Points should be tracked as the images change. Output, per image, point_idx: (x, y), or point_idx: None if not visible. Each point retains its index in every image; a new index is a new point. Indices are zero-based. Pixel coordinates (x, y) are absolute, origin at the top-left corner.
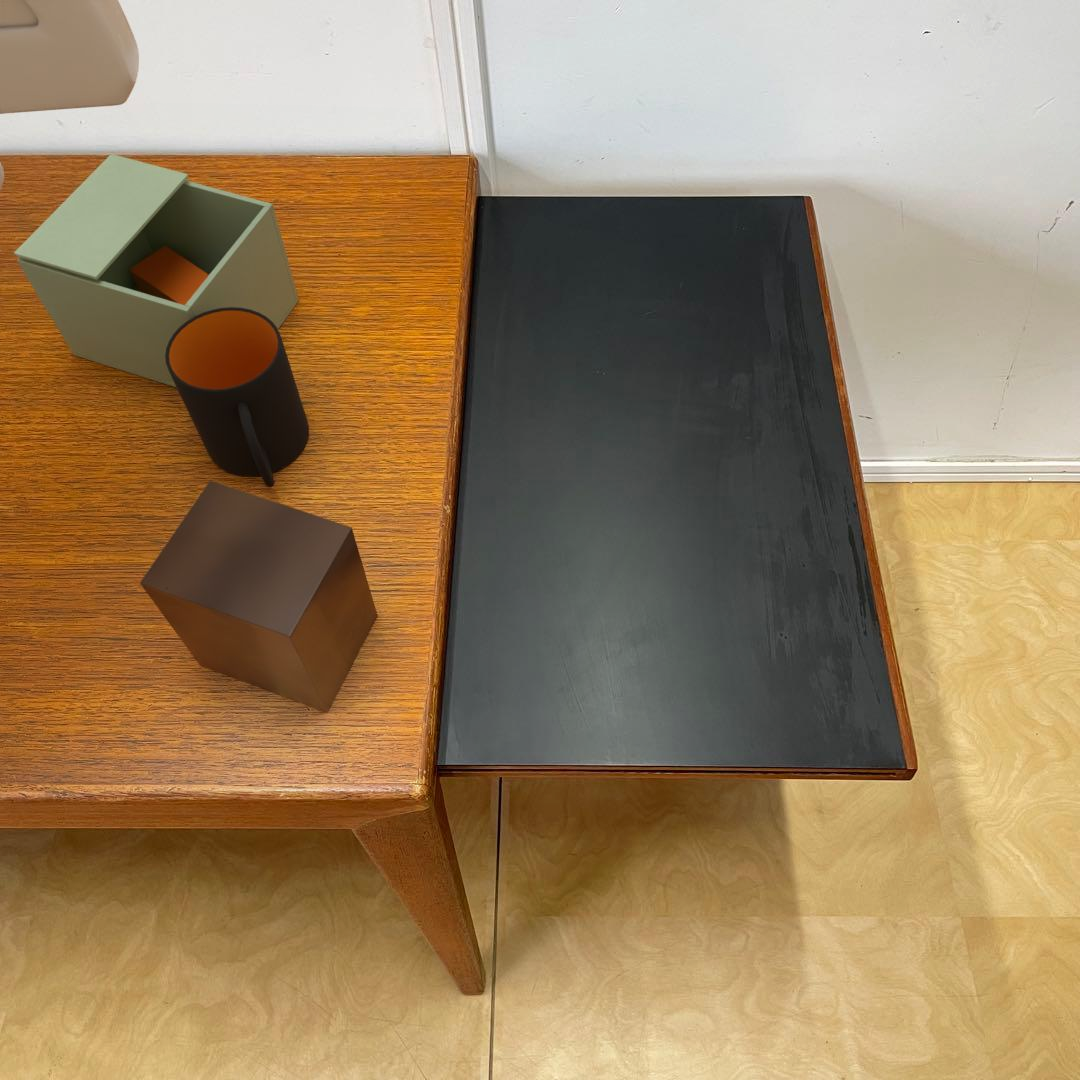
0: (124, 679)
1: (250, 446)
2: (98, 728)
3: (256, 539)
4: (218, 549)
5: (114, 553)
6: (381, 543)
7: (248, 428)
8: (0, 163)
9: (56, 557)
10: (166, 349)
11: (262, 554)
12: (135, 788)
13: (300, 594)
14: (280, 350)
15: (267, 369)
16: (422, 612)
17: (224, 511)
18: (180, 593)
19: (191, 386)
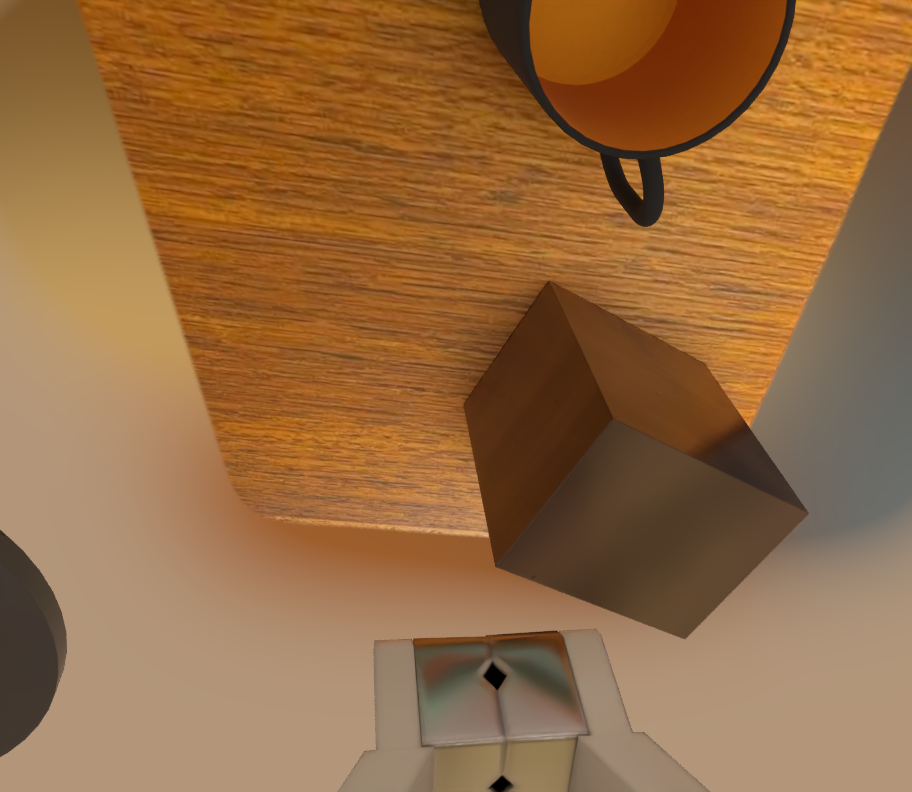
0: (363, 411)
1: (642, 223)
2: (337, 465)
3: (669, 521)
4: (612, 531)
5: (322, 214)
6: (742, 253)
7: (656, 210)
8: (606, 653)
9: (224, 209)
10: (525, 3)
11: (673, 541)
12: (390, 528)
13: (711, 595)
14: (783, 48)
15: (743, 109)
16: (763, 365)
17: (628, 473)
18: (552, 584)
19: (577, 137)
